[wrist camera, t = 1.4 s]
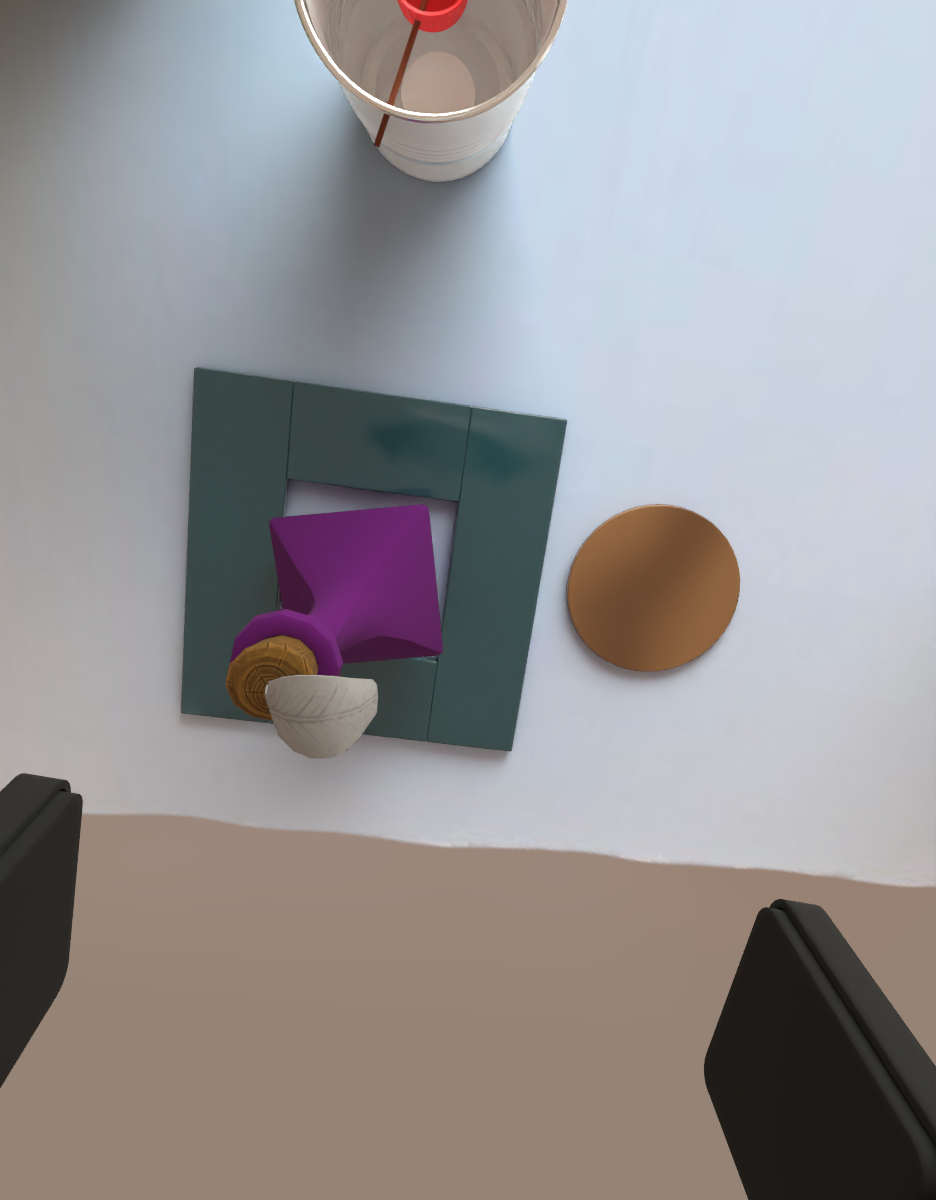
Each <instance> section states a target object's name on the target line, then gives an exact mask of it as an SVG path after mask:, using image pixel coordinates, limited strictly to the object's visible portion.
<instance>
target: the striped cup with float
mask: <svg viewBox="0 0 936 1200" xmlns="http://www.w3.org/2000/svg"><path fill="white" fill-rule="evenodd" d="M294 2H295V5H296V9H297V12H298V15H299V18H300V20H301V23H302V26H303V28H304V30H305V32H306V35H307V37H308V39H309V41H310V43H311V45H312V46H313V48H314V50H315V51H316V53H317V55H318V56H319V58H320V59H321V61H322V62H323V63H324V65H325V66H326V68H327V69H328V70H329V71H330V72H331V74H332V75H333V76H334V77H335V78H336V79H337V80H338V82H339V84H340V86H341V88H342V90H343V92H344V94H345V96H346V97H347V99H348V101H349V103H350V105H351V106H352V108H353V110H354V112H355V113H356V115H357V116H358V118H359V119H360V121H361V122H362V123H363V125H364V127H365V128H366V130H367V132H368V134H369V136H370V137H371V139H372V141H373V143H374V145H375V146H376V147H377V149H378V150H379V151H380V152H381V154H382V155H383V156H384V157H385V158H386V159H387V160H388V161H389V162H390V163H391V164H393V165H394V166H395V167H396V168H398V169H399V170H401V171H402V172H404V173H406V174H408V175H410V176H413V177H415V178H418V179H422V180H426V181H434V182H444V181H452V180H456V179H460V178H463V177H465V176H468V175H470V174H472V173H474V172H476V171H477V170H479V169H480V168H482V167H483V166H484V165H485V164H486V163H488V162H489V161H490V160H491V159H492V158H493V157H494V155H495V154H496V153H497V152H498V150H499V149H500V148H501V146H502V145H503V143H504V141H505V139H506V137H507V136H508V133H509V131H510V128H511V126H512V124H513V121H514V119H515V117H516V115H517V113H518V112H519V110H520V108H521V106H522V104H523V102H524V99H525V97H526V95H527V92H528V90H529V87H530V85H531V83H532V80H533V78H534V75H535V72H536V70H537V69H538V67H539V66H540V65H541V63H542V62H543V60H544V59H545V57H546V56H547V54H548V52H549V50H550V48H551V47H552V45H553V43H554V41H555V39H556V36H557V34H558V32H559V29H560V27H561V24H562V21H563V18H564V15H565V12H566V8H567V4H568V0H294Z"/></svg>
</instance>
